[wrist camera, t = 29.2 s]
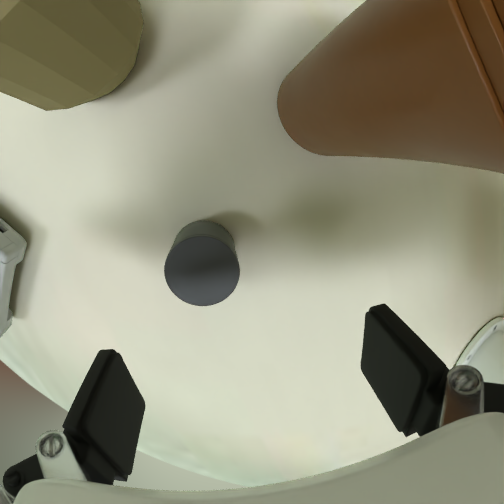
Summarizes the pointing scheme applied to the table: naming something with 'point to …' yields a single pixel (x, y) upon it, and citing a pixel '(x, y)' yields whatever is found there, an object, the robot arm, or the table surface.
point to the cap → (202, 264)
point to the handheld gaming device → (8, 269)
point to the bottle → (404, 85)
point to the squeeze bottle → (66, 49)
